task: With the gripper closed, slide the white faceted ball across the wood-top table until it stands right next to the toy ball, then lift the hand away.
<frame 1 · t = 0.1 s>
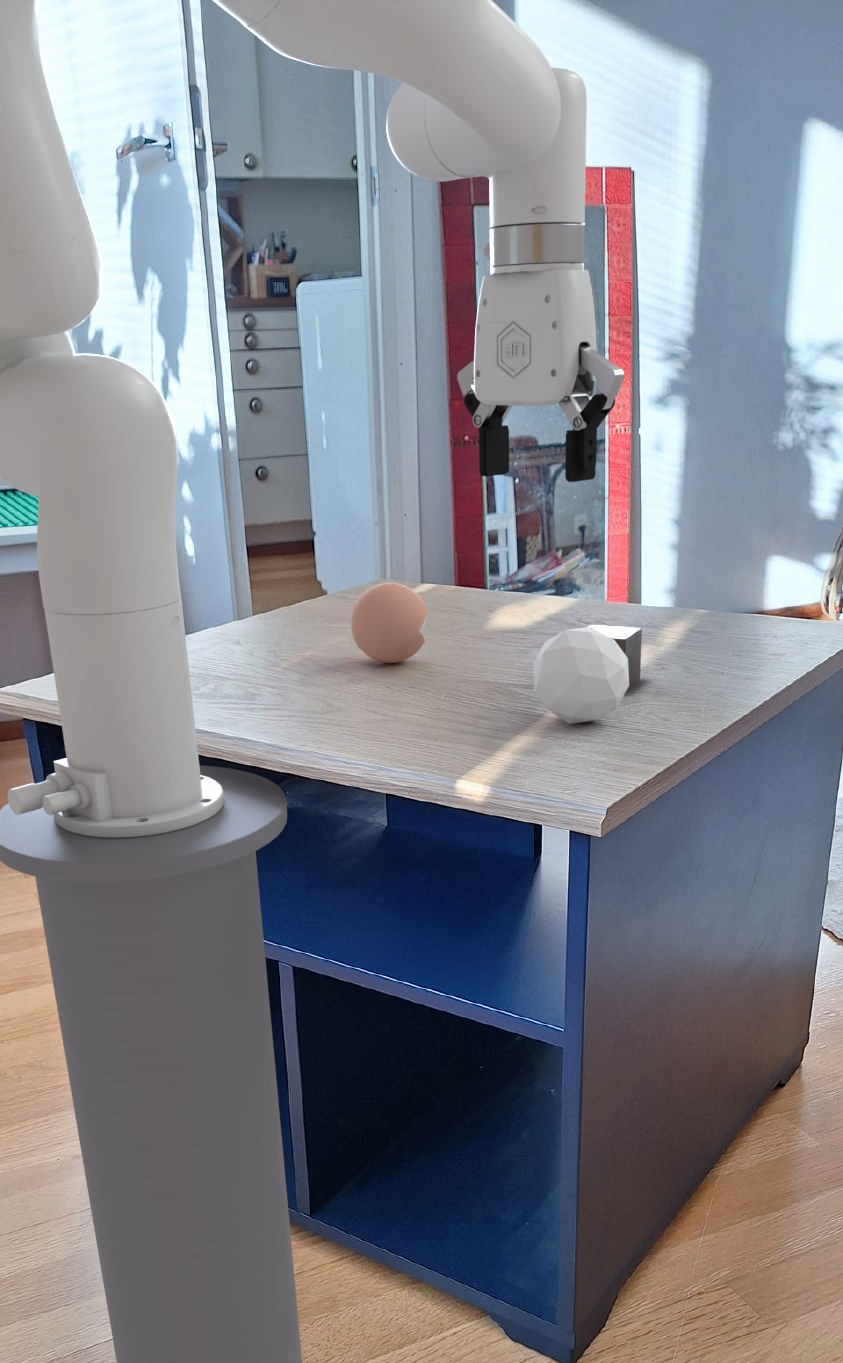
hand: (536, 477, 110), 19 cm above the table, tool pointing down, fingers open, 9 cm apart
walnut block: (606, 685, 120), on the table
white faceted ball: (570, 717, 111), on the table
toy ball: (391, 663, 132), on the table
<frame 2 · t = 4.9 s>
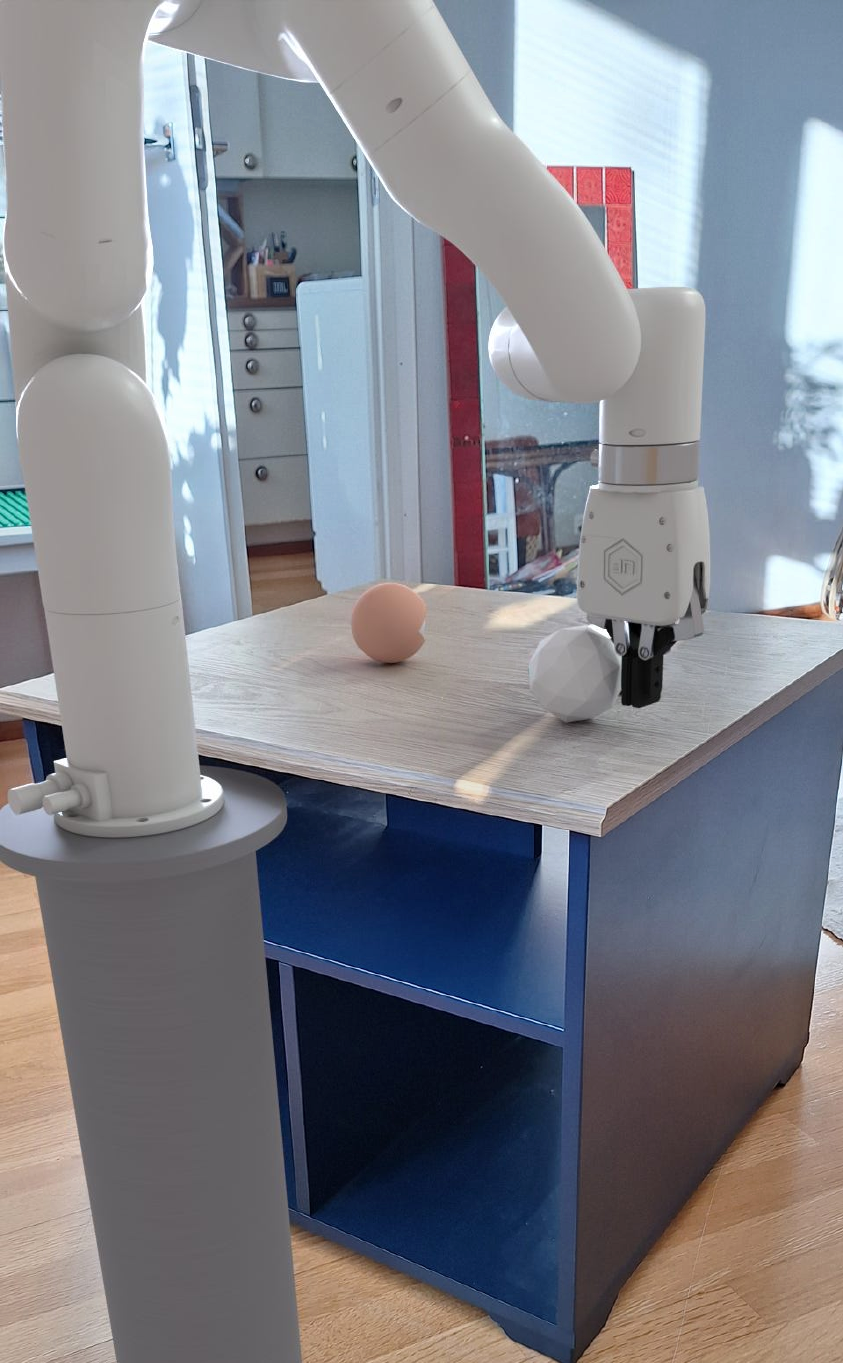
hand: (640, 702, 105), 2 cm above the table, tool pointing down, fingers closed
white faceted ball: (565, 716, 112), on the table, touching gripper
everything else where it was.
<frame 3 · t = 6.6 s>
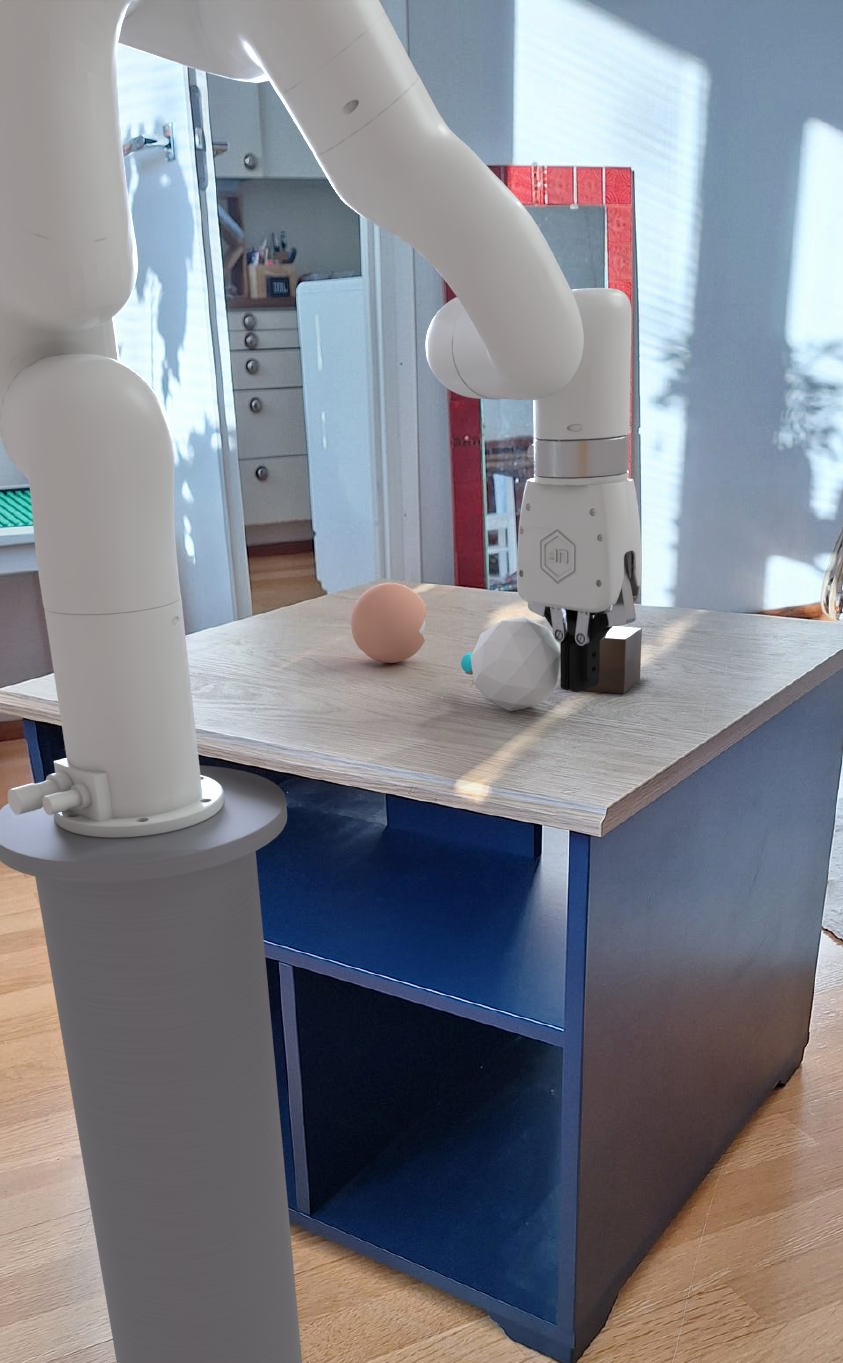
hand: (579, 687, 110), 2 cm above the table, tool pointing down, fingers closed
white faceted ball: (505, 705, 115), on the table, touching gripper
everything else where it was.
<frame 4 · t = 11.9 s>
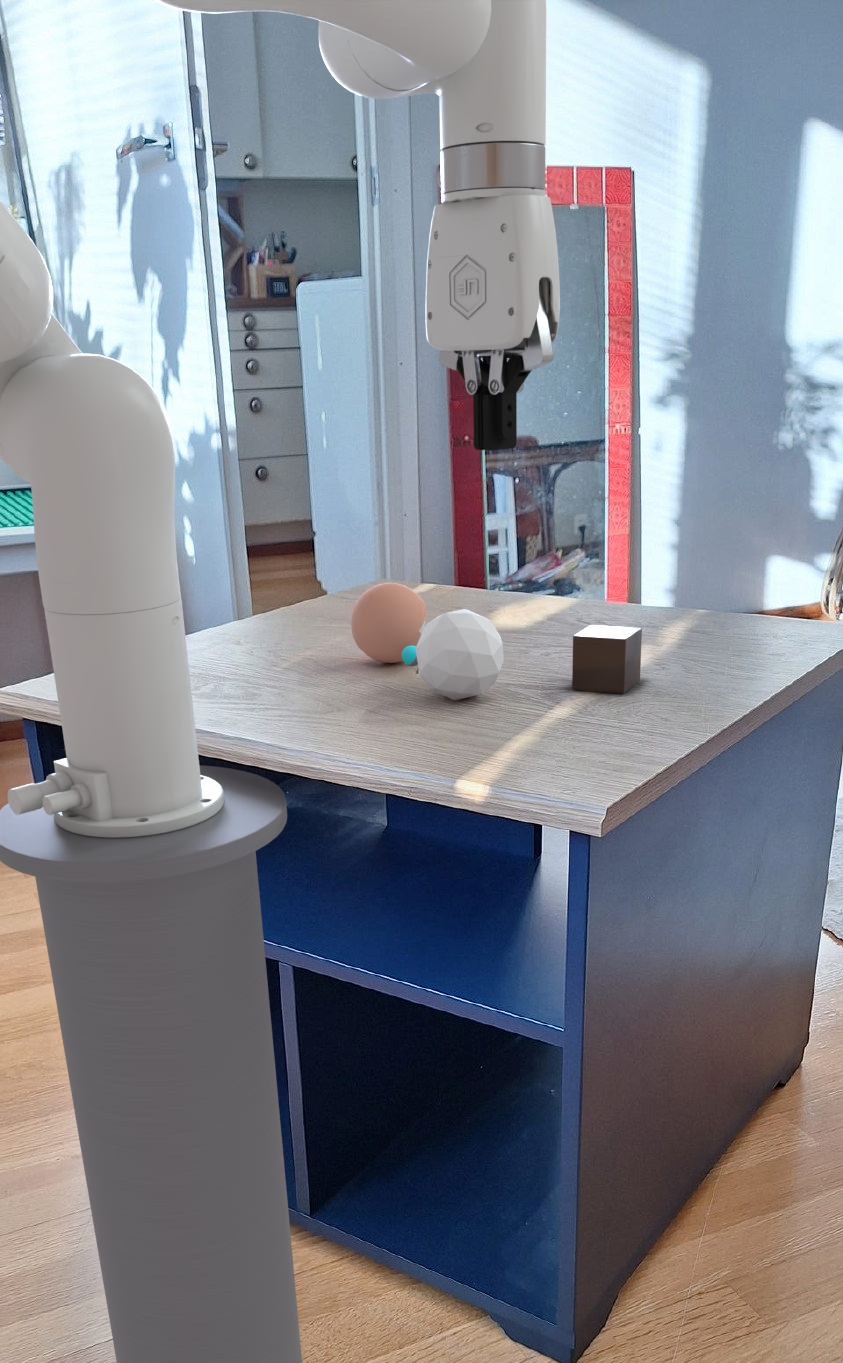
hand: (495, 448, 100), 22 cm above the table, tool pointing down, fingers closed
white faceted ball: (447, 695, 119), on the table
everything else where it was.
at the end: white faceted ball 14.4 cm from the toy ball (horizontally); white faceted ball moved 13.7 cm from its start; toy ball moved 0.2 cm from its start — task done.
